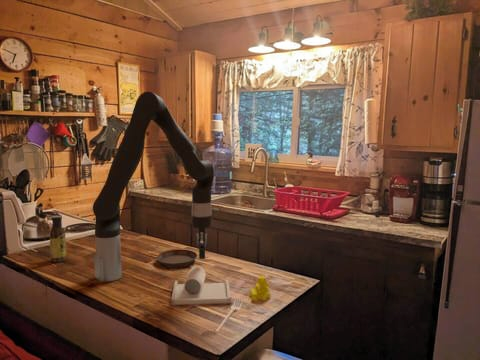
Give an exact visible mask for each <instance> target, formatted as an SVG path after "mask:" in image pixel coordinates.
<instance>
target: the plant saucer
mask: <svg viewBox="0 0 480 360" xmlns="http://www.w3.org/2000/svg"><path fill="white" fill-rule="evenodd" d="M197 258H198V254H197V252H195V251H194V250H191V249H190V250H189V249H179V248H177V249H170V250H166V251H162V252H161V253H158V255H156V260H157V261H158V262H159V264H160V265H162V266H164V267H167V268H183V267H188V266H190V265H192V264H193V263H194V262H195V261H196V259H197Z"/></svg>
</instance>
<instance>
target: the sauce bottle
mask: <svg viewBox="0 0 480 360" xmlns="http://www.w3.org/2000/svg"><path fill="white" fill-rule="evenodd" d="M62 219H63V216H62V215H52V216H51V222H52V225H51V226H52V228H51V229H50V230H49V251H50V253H49V254H50V260H51V262H52V263H60V262H63V261H66V259H67V245H66V244H67V242H66V231H65V229H64V227H63V224H62Z"/></svg>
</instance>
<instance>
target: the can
mask: <svg viewBox="0 0 480 360" xmlns="http://www.w3.org/2000/svg"><path fill="white" fill-rule="evenodd" d="M206 277H207V275H206V271H205V270H204V268H202V267H200V266H194V267H191V268H190V270H189V272H188V274H187V276H186V278H185V281H184V283H183V284H184V286H185V290H186V291H187V293H189V294H192V295H194V294H197V293H198V292H200V291H201V289H202V287H203V284H205V280H206Z"/></svg>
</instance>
